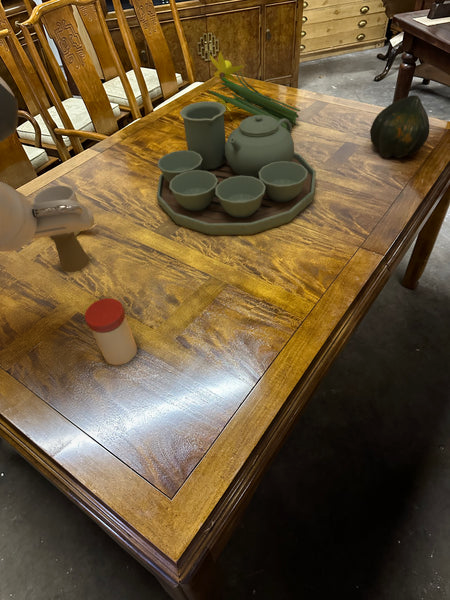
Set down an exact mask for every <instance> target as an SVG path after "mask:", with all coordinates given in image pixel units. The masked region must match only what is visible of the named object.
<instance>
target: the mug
mask: <svg viewBox="0 0 450 600" xmlns="http://www.w3.org/2000/svg"><path fill="white" fill-rule="evenodd" d="M55 200H73V201H76V202H78V203H80V202H79V199H78V197H77V195H76V192H75V190H74V189H73V188H72V187H70V186H67V185H53V186H49V187H46V188H44V189H42V190H41V191H39V192H38V193H37V194H35V196H34V197H33V200H32V202H33V203H32V204H37V203H43V202H49V201H55ZM87 209H88V213H89V218H90V225H91V226H90V228H89V229H88V230H90V229H91V228H92V227H93V226H94V224H95V216H94V215H93V212H92V211H91V210H90V209H89V208H88V207H87ZM80 233H82V231H77V232H74V235H75V236H78V235H80Z"/></svg>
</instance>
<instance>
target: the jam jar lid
mask: <svg viewBox="0 0 450 600" xmlns="http://www.w3.org/2000/svg"><path fill="white" fill-rule="evenodd" d="M126 313H127V312H126V311H125V307H124V306H123V304H122V303H121V301H119V300H118V299H116V298H112V297H111V298H107V297H106V298H102V299H99V300H97V301H95V302H93V303H91V304H90V305H89V306H88V307H87V309H86V310H85V313H84V319H85V323H86V325H87V326H88V328H89V329H90V330H91V329H92V331H96V332H101V333H102V332H108V331H111V330H113V329H115V328H117V327H118V326H119V325H121V323H122V322H123V320H124V318H125V316H126ZM92 331H91V332H92Z"/></svg>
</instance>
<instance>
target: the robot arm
mask: <svg viewBox="0 0 450 600" xmlns="http://www.w3.org/2000/svg"><path fill="white" fill-rule="evenodd" d="M18 122H19V102H18V99H17V97H15V94H14V92H13V91H12V89H11V88H10V86H9V84H8V83H6V81H5V80H4V79H3V78H2V77H1V76H0V143H2V142H3V141H5V140H6V139H7V138H9V137H11V136H12V135H13V134H15V133H16V132H17V128H18V124H19V123H18ZM32 202H33V201H31V200H30V199H29V198H28V197H27V196H26V195H24V194H23V193H22V192H20V191H18V190H17V189H15V188H14V187H12V186H10V185H9V184H7V183H5V182H3V181H1V180H0V252H12V251H17V250H19V249H21V248H23V247H25V246H26V245H27V244H29V242H30V241H31V240H35V239H36V240H37V239H41V238H47V237H49V236H54V235H60V234H62V235H63V234H69V233H71V232H77V231H81V232H82V231H87V230H90V229H91V228H90V226H91V225H90V218H89V213H88V209H89V208H88V207H87V206H85V205H84V204H82V203H81V202H79V201H78V202H79V203H78V202H76V201H73V200H55V201H49V202H43V203H37V204H34V203H32ZM87 208H88V209H87ZM89 228H90V229H89Z"/></svg>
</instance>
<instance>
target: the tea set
mask: <svg viewBox="0 0 450 600" xmlns="http://www.w3.org/2000/svg"><path fill="white" fill-rule="evenodd" d="M225 111H226V108H225V106H224V105H222V104H221V103H218V102H216V101H213V102H212V100H211V101H198V102H194V103H190V104H188V105H186V106H184V107H182V109H181V110H180V111H179V114H180V116H181V118H182V122H183V127H184V134H185V141H186V148H187V150H186V149H185V150H176V151H172V152H169V153H167V154H164V155H163V156H161V157H160V158H159V159H158V161H157V167H158V168H159V170H160V172H161V174H160V175H159V176H158V183H157V190H156V191H157V192H156V200H157V203H158V204H159V206H160V207H161V208H162V209H163V210H164V212H165V213H166V214H167V215H168V216H169V217H170V218H171V220H172V221H173V222H174V223H175V224H176V225H178V226H182V227H184V228H188V229H190V230H194V231H197V232H199V233H202V234H206V235H208V236H243V235H244V236H245V235H246V236H247V235H250V236H251V235H254V234H257V233H260V232H264V231H267V230H269V229H274V228H276V227H279V226H283V225H287V224H288V223H290V222H292V220H294V219H295V218H296V217H297V216H298V215H299V214H300V213H301V212H302V211H304V210H305V209H306V208H307V207H308V206H309V205H310V204H312V202H313V200H314V195H315V186H316V175H317V170H315V168H313V167H312V165H311V164H310V163H309V162H308V161H307V160H306V158H305V157H303V155H301V154H300V153H297V152H295V142H294V139H293V136H292V132H293V126H291V123H290V121H289V120H287V119H285V118H283V119H281V120H279V121H277V120H276V119H274V118H273V117H271V116H266V115H251V116H248V117H246V118H244V119H243V120H241V122H240V123H239V126H238V127H237V128H235V129H233V130H232V131H231V133H230V134H229V135H228V137H226V129H225V116H224V115H225V114H224V112H225ZM226 112H227V111H226ZM226 112H225V113H226ZM283 123H286V125H287V130H286V129H285V128H284V127H282V124H283ZM226 139H227V140H226Z"/></svg>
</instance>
